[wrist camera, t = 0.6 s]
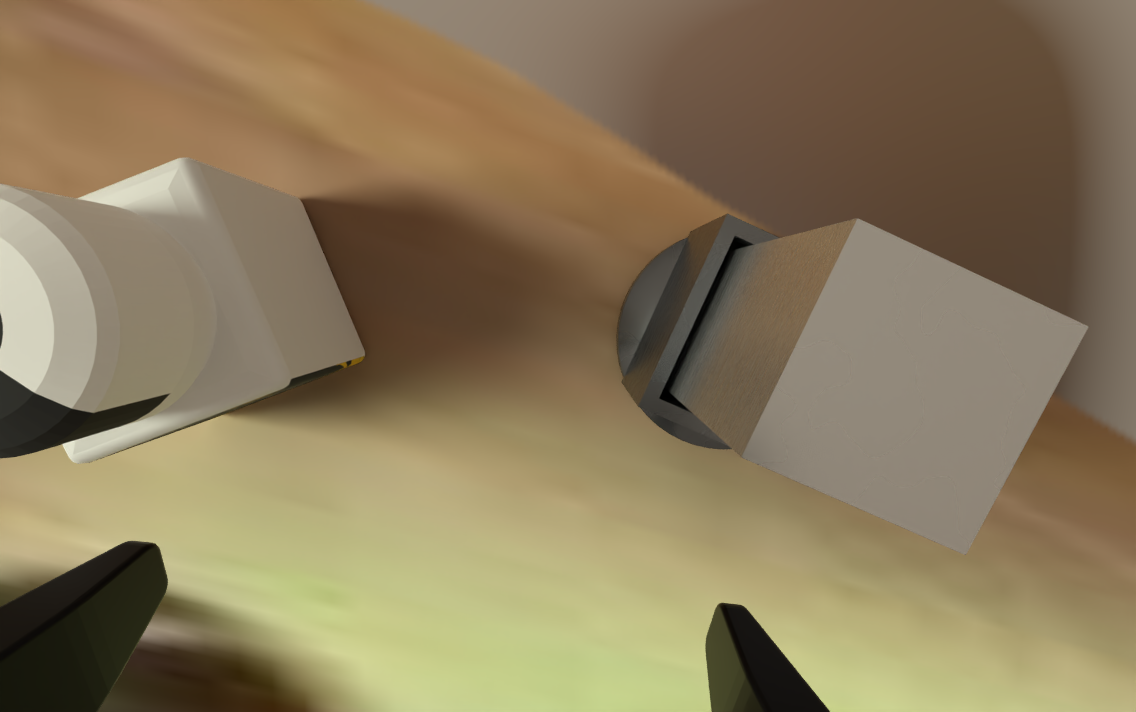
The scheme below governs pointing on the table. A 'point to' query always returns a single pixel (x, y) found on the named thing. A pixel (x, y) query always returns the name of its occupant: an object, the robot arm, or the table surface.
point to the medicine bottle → (157, 308)
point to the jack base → (674, 321)
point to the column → (874, 373)
